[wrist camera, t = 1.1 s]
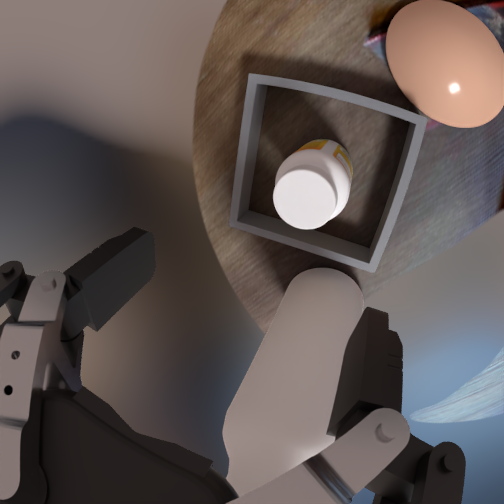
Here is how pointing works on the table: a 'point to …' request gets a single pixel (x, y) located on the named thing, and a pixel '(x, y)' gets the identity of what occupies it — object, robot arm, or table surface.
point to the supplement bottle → (313, 184)
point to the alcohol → (292, 380)
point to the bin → (308, 237)
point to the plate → (446, 63)
